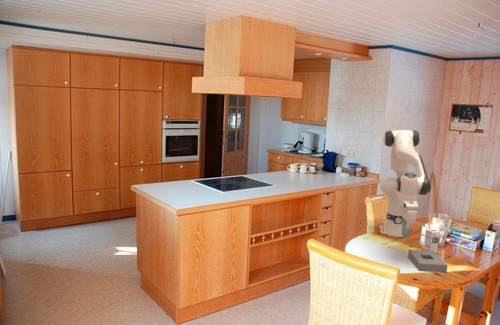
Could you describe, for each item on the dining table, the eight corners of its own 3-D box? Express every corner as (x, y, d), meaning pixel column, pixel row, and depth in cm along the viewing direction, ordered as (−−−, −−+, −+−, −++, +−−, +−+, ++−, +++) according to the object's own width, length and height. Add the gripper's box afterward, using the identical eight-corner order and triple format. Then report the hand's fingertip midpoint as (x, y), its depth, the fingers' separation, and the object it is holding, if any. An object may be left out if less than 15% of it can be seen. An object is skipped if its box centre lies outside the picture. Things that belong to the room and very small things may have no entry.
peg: (400, 233, 223) (401, 216, 222) (407, 233, 223) (409, 216, 221) (402, 235, 219) (403, 218, 218) (409, 236, 219) (411, 219, 217)
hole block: (407, 256, 228) (408, 249, 228) (432, 257, 227) (433, 250, 227) (419, 270, 209) (420, 263, 208) (446, 272, 207) (447, 265, 207)
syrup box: (430, 256, 229) (432, 232, 227) (423, 252, 235) (425, 229, 233) (438, 255, 231) (440, 231, 229) (431, 251, 237) (433, 228, 234)
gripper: (397, 197, 229) (395, 220, 231) (407, 206, 209) (405, 231, 211) (408, 198, 228) (406, 221, 230) (419, 207, 208) (417, 232, 210)
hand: (405, 226), depth 220 cm, fingers closed on peg, 4 cm apart
